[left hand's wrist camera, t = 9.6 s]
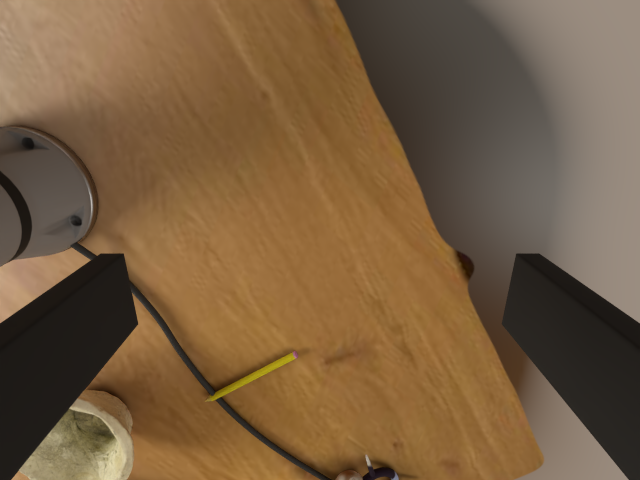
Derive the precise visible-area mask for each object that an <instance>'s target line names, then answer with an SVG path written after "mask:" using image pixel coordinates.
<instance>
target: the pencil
mask: <svg viewBox="0 0 640 480" xmlns="http://www.w3.org/2000/svg"><path fill="white" fill-rule="evenodd" d="M296 358H298V354H297V352H296V351H294V352H292V353H290V354H288V355H286V356H284V357H282V358H280V359H279V360H277V361H275V362H273V363H271V364H269V365H267V366H265V367H263V368H261V369H259V370H257V371H255V372H253V373H251V374H250V375H248V376H246V377H244V378H242V379H240V380H238V381H236V382H234V383H232V384H230V385H228V386H226V387H224V388H223V389H221V390H219V391H217V392H215V394H214V395H213V396H211V395H210V396H209V397H208V398H207V399H206V400H205V401H204V402H207V401H214V400H216V399H218V398H220V397H222V396H224V395H226V394H228V393H230V392H231V391H233V390H235V389H237V388H239V387H241V386H243V385H245V384H247V383H249V382H251V381H253V380H255V379H257V378H259V377H261V376H263V375H265V374H267V373H269V372H271V371H272V370H274V369H276V368H278V367H280V366H282V365H284V364H286V363H288V362H290V361H292V360H294V359H296Z"/></svg>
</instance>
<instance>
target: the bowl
mask: <svg viewBox="0 0 640 480" xmlns="http://www.w3.org/2000/svg"><path fill="white" fill-rule="evenodd" d="M132 425H133V421H132V417H131V414H130V412H129V410H128V408H127V406H126V405H125V404H124V403H123V402H122V401H121V400H120V399H119V398H117V397H115V396H113V395H111V394H109V393H107V392H104V391H96V390H84V391H83V392H82V394H81V395H80V396H79V397H78V398H77V400H76V401H75V402H74V403H73V405H72V406H71V407H70V408H69V409H68V411H67V412H66V413H65V414H64V416H63V417H62V418H61V419H60V420H59V422H58V423H57V424H56V425H55V427H54V428H53V429H52V430H51V431H50V433H49V434H48V435H47V436H46V438H45V439H44V440H43V441H42V443H41V444H40V445H39V446H38V447H37V449H36V450H35V451H34V452H33V454H32V455H31V456H30V457H29V458H28V460H27V461H26V462H25V463H24V465H23V466H22V467H21V468H20V469H19V471H20V472H21V473H22V474H24V475H26V476H27V477H28V478H29V479H30V480H127V478H128V477H129V475H130V473H131V470H132V467H133V461H134V445H133V440H132V437H131V435H130V433H131V430H132Z"/></svg>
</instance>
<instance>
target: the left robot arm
mask: <svg viewBox="0 0 640 480" xmlns="http://www.w3.org/2000/svg"><path fill="white" fill-rule="evenodd" d="M97 214H98V196H97V191H96V187H95V184H94V182H93V179H92V177H91V175H90V173H89V171H88V170H87V168H86V166H85V165H84V164H83V162H82V161H81V160H80V158H79V157H78V156H77V155H76V154H75V153H74V152H73V151H72V150H71V149H70V148H69V147H67V146H66V145H65V144H64V143H62V142H61V141H59V140H58V139H56V138H54V137H53V136H51V135H49V134H47V133H44V132H42V131H39V130H36V129H32V128H27V127H20V126H10V127H0V266H2V265H4V264H6V263H8V262H10V261H12V260H17V259H25V258H32V257H40V256H47V255H52V254H56V253H59V252H62V251H65V250H67V249H69V248H71V247H72V248H74V249H75V250H77V251H78V252H80V253H81V254H83V255H84V256H86V257H87V258H89V259H90V260H91V261H89V262H88V263H87V264H85V265H84V266H82V267H81V268H79V269H78V270H77V271H75V272H74V273H72V274H71V275H69V276H68V277H66V278H65V279H64V280H62V281H61V282H59V283H58V284H56V285H55V286H53V287H52V288H51V289H49V290H48V291H46V292H45V293H43V294H42V295H41V296H39V297H38V298H36V299H35V300H33V301H32V302H30V303H29V304H28V305H26V306H25V307H23V308H22V309H20V310H19V311H17V312H16V313H15V314H13V315H12V316H10V317H9V318H7V319H6V320H5V321H3V322H2V323H0V480H11V479H12V478H13V477H14V476H15V474H16V473H17V472H18V471H19V469H20V468H21V467H22V466H23V465H24V463H25V462H26V461H27V460H28V458H29V457H30V456H31V455H32V454H33V452H34V451H35V450H36V449H37V447H38V446H39V445H40V444H41V443H42V441H43V440H44V439H45V438H46V436H47V435H48V434H49V433H50V431H51V430H52V429H53V428H54V427H55V425H56V424H57V423H58V422H59V420H60V419H61V418H62V417H63V416H64V414H65V413H66V412H67V411H68V409H69V408H70V407H71V406H72V405H73V403H74V402H75V401H76V400H77V398H78V397H79V396H80V395H81V394H82V392H83V391H84V390H85V389H86V387H87V386H88V385H89V384H90V383H91V381H92V380H93V379H94V378H95V376H96V375H97V374H98V373H99V371H100V370H101V369H102V368H103V367H104V365H105V364H106V363H107V362H108V360H109V359H110V358H111V357H112V356H113V354H114V353H115V352H116V351H117V349H118V348H119V347H120V346H121V345H122V343H123V342H124V341H125V340H126V338H127V337H128V336H129V335H130V334H131V332H132V331H133V330H134V329H135V327H136V326H137V325H138V321H137V316H136V311H135V306H134V301H133V296H132V293H133V294H134V295H135V296H136V297H137V298H138V299H139V301H140V302H141V303H142V304H143V305H144V306H145V308H146V309H147V310H148V311H149V312H150V313H151V315H152V316H153V317H154V318H155V320H156V321H157V322H158V324H159V325H160V327H161V328H162V330H163V331H164V333H165V334H166V336H167V338H168V339H169V341H170V342H171V344H172V346H173V347H174V349H175V350H176V352H177V353H178V354H179V356H180V357H181V358H182V360H183V361H184V363H185V364H186V365H187V367H188V368H189V369H190V370H191V372H192V373H193V374H194V376H195V377H196V378H197V379H198V381H199V382H200V383H201V384H202V385H203V387H204V388H205V389H206V390H207V391H208V392H209V393H210V395H211V396H213V395H214V394H215V392H216V391H215V390H214V389H213V388H212V387H211V386H210V385H209V383H208V382H207V381H206V380H205V379H204V377H203V376H202V375H201V374H200V372H199V371H198V370H197V368H196V367H195V366H194V365H193V363H192V362H191V360H190V359H189V358H188V356H187V355H186V354H185V352H184V351H183V349H182V348H181V346H180V345H179V343H178V342H177V340H176V339H175V337H174V335H173V334H172V332H171V331H170V329H169V327H168V326H167V324H166V323H165V321H164V320H163V319H162V317H161V316H160V315H159V313H158V312H157V311H156V310H155V308H154V307H153V306H152V305H151V304H150V302H149V301H148V300H147V299H146V298H145V297H144V295H143V294H142V293H141V292H140V291H139V290H138V289H137V288H136V287H135V286H134V285H133V284H132V283H131V282H130V281H129V277H128V272H127V267H126V262H125V258H124V254H100V255H98V256H96V255H95V254H93V253H92V252H90V251H89V250H87V249H86V248H84V247H83V246H81V245H80V244H79V242H80V241H82V240H83V239H84V238H85V237H86V236H87V235H88V234H89V233H90V231H91V230H92V228H93V226H94V224H95V221H96V218H97ZM502 325H503V326H504V327H505V329H506V330H507V331H508V332H509V333H510V335H511V336H512V337H513V338H514V340H515V341H516V342H517V343H518V345H519V346H520V347H521V348H522V349H523V351H524V352H525V353H526V354H527V356H528V357H529V358H530V359H531V360H532V362H533V363H534V364H535V365H536V367H537V368H538V369H539V370H540V371H541V373H542V374H543V375H544V376H545V377H546V379H547V380H548V381H549V382H550V384H551V385H552V386H553V387H554V389H555V390H556V391H557V392H558V394H559V395H560V396H561V397H562V398H563V400H564V401H565V402H566V403H567V405H568V406H569V407H570V408H571V409H572V411H573V412H574V413H575V414H576V416H577V417H578V418H579V419H580V420H581V422H582V423H583V424H584V425H585V427H586V428H587V429H588V430H589V431H590V433H591V434H592V435H593V436H594V438H595V439H596V440H597V441H598V442H599V444H600V445H601V446H602V447H603V449H604V450H605V451H606V452H607V453H608V455H609V456H610V457H611V458H612V460H613V461H614V462H615V463H616V465H617V466H618V467H619V468H620V469H621V471H622V472H623V473H624V474H625V476H626V477H627V478H628V479H629V480H640V323H638V322H637V321H635V320H634V319H633V318H631V317H630V316H628V315H627V314H625V313H624V312H622V311H621V310H620V309H618V308H617V307H615V306H614V305H612V304H611V303H609V302H608V301H607V300H605V299H604V298H602V297H601V296H599V295H598V294H597V293H595V292H594V291H592V290H591V289H589V288H588V287H586V286H585V285H583V284H582V283H581V282H579V281H578V280H576V279H575V278H574V277H572V276H571V275H569V274H568V273H566V272H565V271H563V270H562V269H561V268H559V267H558V266H556V265H555V264H553V263H552V262H551V261H549V260H548V259H546V258H545V257H543V256H542V255H540V254H516V258H515V262H514V267H513V272H512V277H511V282H510V287H509V292H508V296H507V301H506V306H505V311H504V316H503V321H502ZM216 401H217V402H218V403H219V404H220V405H221V406H222V407H223V408H224V409H225V410H226V411H227V412H228V413H229V414H230V415H231V416H232V417H233V418H234V419H235V420H236V421H237V422H238V423H240V424H241V425H242V426H243V427H244V428H245V429H247V430H248V431H249V432H250V433H251V434H253V435H254V436H255V437H256V438H258V439H259V440H260V441H262V442H263V443H264V444H266V445H267V446H269V447H270V448H271V449H273V450H274V451H276V452H277V453H279V454H280V455H282V456H283V457H285V458H286V459H288V460H289V461H291V462H292V463H294V464H295V465H297V466H299V467H300V468H302V469H304V470H305V471H307V472H309V473H311V474H312V475H314V476H316V477H317V478H319V479H321V480H331V479H330V478H328V477H326V476H324V475H323V474H321V473H319V472H318V471H316V470H314V469H313V468H311V467H309V466H308V465H306V464H304V463H303V462H301V461H299V460H298V459H296V458H294V457H293V456H291V455H290V454H288V453H287V452H285V451H284V450H282V449H281V448H279V447H278V446H277V445H275V444H274V443H272V442H271V441H269V440H268V439H267V438H265V437H264V436H263V435H261V434H260V433H259V432H258V431H256V430H255V429H254V428H253V427H252V426H250V425H249V424H248V423H247V422H246V421H245V420H243V419H242V418H241V417H240V416H239V415H238V414H237V413H236V412H235V411H234V410H233V409H232V408H231V407H230V406H229V405H228V404H227V403H226V402H225V401H224V400H223V399H222V398H221V397H220V398H218V399H216Z"/></svg>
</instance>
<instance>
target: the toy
mask: <svg viewBox="0 0 640 480" xmlns="http://www.w3.org/2000/svg"><path fill="white" fill-rule="evenodd" d="M366 461H367V465H368V469H369V472H368V473H367V474H366V475H364V476H363V477H362V476H361V475H360V474H359V473H358V472H356V471H353V470H346V471H343V472H341V473H340V474H339V475H338V476H337V478H336V480H374V479H376V478H379V477H384V476H386V477H389V478H391V480H399V478H398V475H397V473H396V472H395V471H394V470H392V469H390V468H386V467H382V468H377V469H374V470H373V467H372V465H371V463H370V460H369V458H368V456H367V455H366Z"/></svg>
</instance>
